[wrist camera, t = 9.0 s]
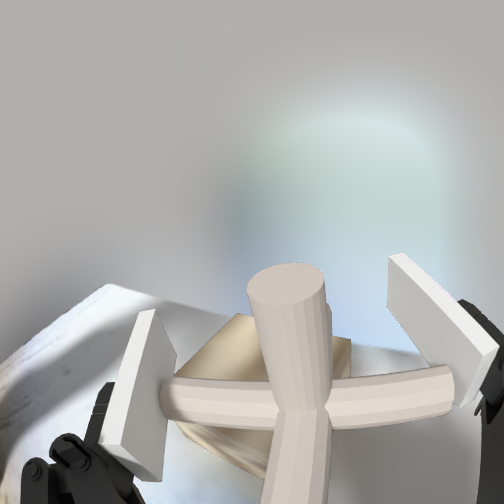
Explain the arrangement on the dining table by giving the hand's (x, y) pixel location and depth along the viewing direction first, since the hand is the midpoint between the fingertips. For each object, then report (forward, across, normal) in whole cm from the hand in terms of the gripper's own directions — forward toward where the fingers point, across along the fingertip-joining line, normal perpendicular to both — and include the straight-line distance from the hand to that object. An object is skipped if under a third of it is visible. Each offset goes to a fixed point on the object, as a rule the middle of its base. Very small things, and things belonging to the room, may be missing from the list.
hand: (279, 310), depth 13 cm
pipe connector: (-4, 0, -6) cm, 8 cm away
